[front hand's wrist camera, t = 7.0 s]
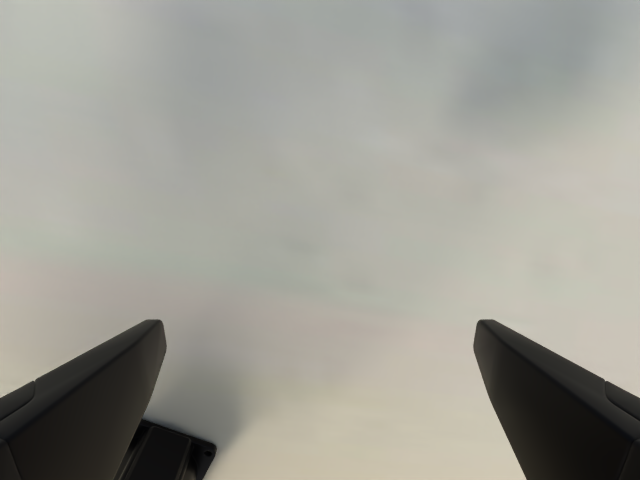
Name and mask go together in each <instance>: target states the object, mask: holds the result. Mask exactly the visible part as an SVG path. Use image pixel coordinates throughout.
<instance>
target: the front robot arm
mask: <svg viewBox="0 0 640 480" xmlns="http://www.w3.org/2000/svg"><path fill="white" fill-rule="evenodd" d="M166 347H167V345H166V338H165V332H164V326H163V323H162V321H161V320H145V321H143V322H141V323H139V324H138V325H136V326H134V327H132V328H130V329H128V330H126V331H125V332H123V333H121V334H119V335H117V336H115V337H113V338H112V339H110V340H108V341H106V342H104V343H102V344H100V345H99V346H97V347H95V348H93V349H91V350H89V351H87V352H86V353H84V354H82V355H80V356H78V357H76V358H74V359H73V360H71V361H69V362H67V363H65V364H63V365H61V366H60V367H58V368H56V369H54V370H52V371H50V372H49V373H47V374H45V375H43V376H41V377H39V378H37V379H36V380H35V381H32V382H30V383H28V384H26V385H24V386H22V387H21V388H19V389H17V390H15V391H13V392H11V393H9V394H7V395H5V396H3V397H1V398H0V480H202V479H203V478H204V476H205V474H206V472H207V470H208V468H209V466H210V464H211V462H212V461H213V459H214V457H215V454H216V450H217V448H216V446H215V445H214V444H212V443H209V442H206V441H203V440H200V439H197V438H195V437H192V436H189V435H186V434H183V433H180V432H177V431H174V430H171V429H168V428H166V427H163V426H160V425H157V424H154V423H151V422H148V421H145V420H142V419H141V418H142V416H143V414H144V412H145V410H146V408H147V405H148V403H149V401H150V398H151V396H152V393H153V390H154V387H155V384H156V381H157V378H158V375H159V372H160V369H161V365H162V362H163V359H164V356H165V353H166ZM473 347H474V353H475V356H476V359H477V362H478V365H479V369H480V372H481V375H482V378H483V381H484V384H485V387H486V390H487V393H488V396H489V398H490V401H491V403H492V405H493V408H494V410H495V412H496V414H497V416H498V418H499V421H500V423H501V425H502V427H503V429H504V431H505V434H506V436H507V438H508V440H509V442H510V444H511V447H512V449H513V451H514V453H515V455H516V457H517V460H518V462H519V464H520V466H521V468H522V470H523V473H524V475H525V477H526V479H527V480H640V398H639V397H637V396H635V395H633V394H631V393H629V392H627V391H625V390H623V389H621V388H619V387H618V386H616V385H614V384H612V383H610V382H608V381H605V380H604V379H603V378H601V377H599V376H597V375H595V374H593V373H592V372H590V371H588V370H586V369H584V368H582V367H580V366H579V365H577V364H575V363H573V362H571V361H569V360H567V359H566V358H564V357H562V356H560V355H558V354H556V353H554V352H553V351H551V350H549V349H547V348H545V347H543V346H541V345H540V344H538V343H536V342H534V341H532V340H530V339H528V338H527V337H525V336H523V335H521V334H519V333H517V332H515V331H514V330H512V329H510V328H508V327H506V326H504V325H502V324H501V323H499V322H497V321H495V320H479V321H478V323H477V326H476V332H475V338H474V345H473Z"/></svg>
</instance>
